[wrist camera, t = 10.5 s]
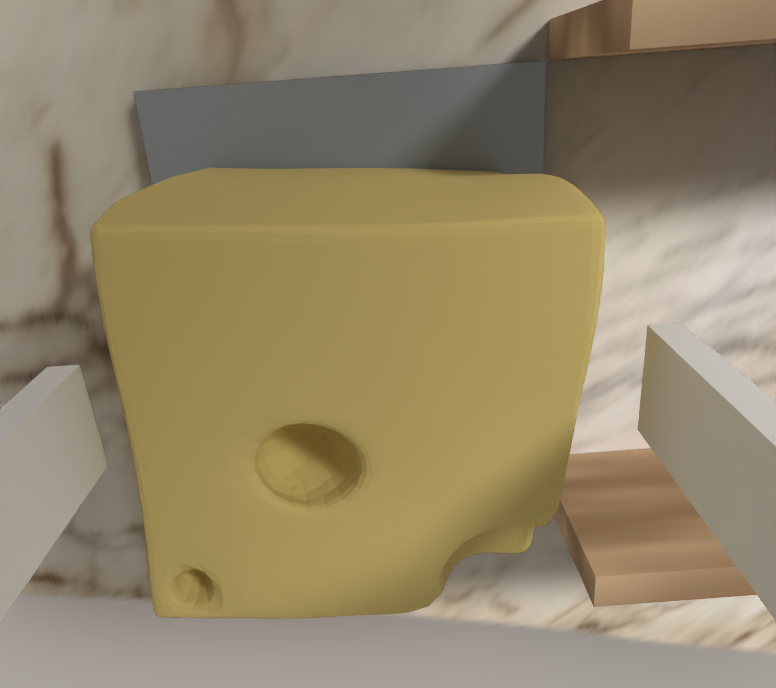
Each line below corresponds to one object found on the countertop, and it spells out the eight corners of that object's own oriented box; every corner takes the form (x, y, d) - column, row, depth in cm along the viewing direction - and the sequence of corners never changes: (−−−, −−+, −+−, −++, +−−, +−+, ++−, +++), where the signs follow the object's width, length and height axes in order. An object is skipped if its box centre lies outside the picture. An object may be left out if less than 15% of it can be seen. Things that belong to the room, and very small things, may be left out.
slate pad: (141, 91, 21) (133, 91, 20) (539, 61, 21) (545, 60, 20) (218, 480, 27) (214, 492, 26) (533, 457, 27) (537, 468, 26)
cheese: (494, 429, 25) (567, 631, 16) (215, 431, 25) (124, 638, 16) (516, 152, 21) (630, 203, 12) (186, 150, 21) (40, 201, 12)
